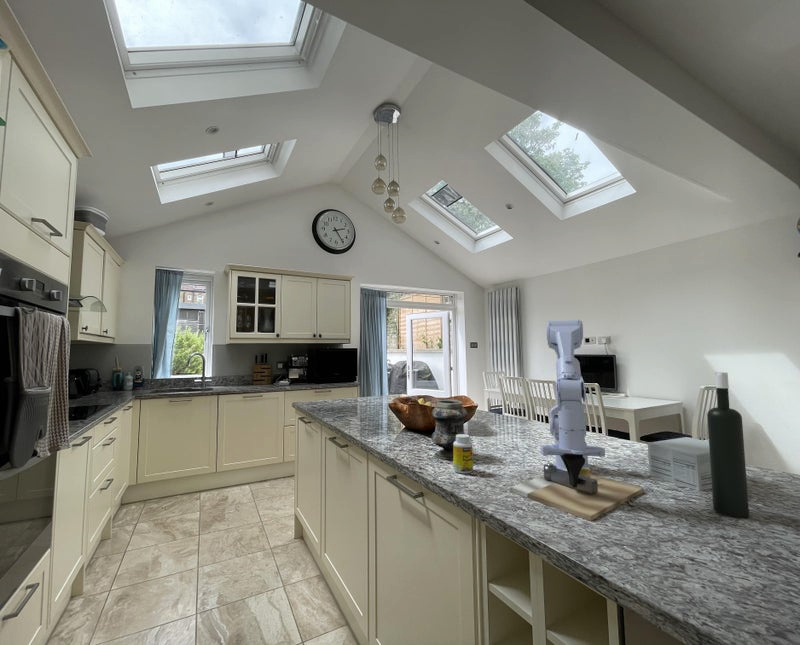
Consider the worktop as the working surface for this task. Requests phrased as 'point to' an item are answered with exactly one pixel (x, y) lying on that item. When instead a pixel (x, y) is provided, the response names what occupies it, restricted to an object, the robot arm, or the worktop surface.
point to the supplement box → (681, 462)
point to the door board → (579, 495)
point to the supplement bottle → (463, 454)
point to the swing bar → (563, 478)
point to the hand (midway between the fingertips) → (573, 486)
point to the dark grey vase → (448, 426)
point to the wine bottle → (727, 455)
